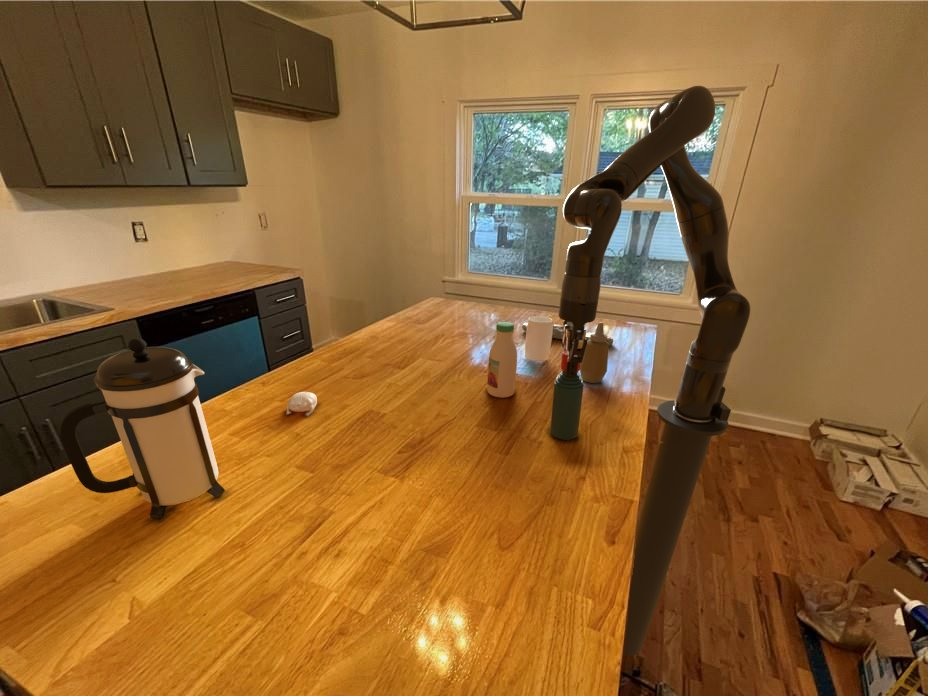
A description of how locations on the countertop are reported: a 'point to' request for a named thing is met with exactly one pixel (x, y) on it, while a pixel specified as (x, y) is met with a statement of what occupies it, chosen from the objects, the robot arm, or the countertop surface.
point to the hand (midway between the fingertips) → (568, 372)
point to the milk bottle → (502, 362)
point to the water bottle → (566, 406)
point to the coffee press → (151, 427)
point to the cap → (564, 361)
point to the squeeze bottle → (595, 357)
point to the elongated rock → (558, 333)
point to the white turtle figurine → (302, 402)
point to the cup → (538, 338)
